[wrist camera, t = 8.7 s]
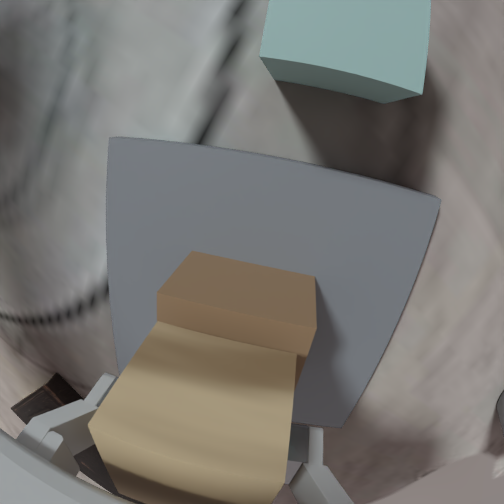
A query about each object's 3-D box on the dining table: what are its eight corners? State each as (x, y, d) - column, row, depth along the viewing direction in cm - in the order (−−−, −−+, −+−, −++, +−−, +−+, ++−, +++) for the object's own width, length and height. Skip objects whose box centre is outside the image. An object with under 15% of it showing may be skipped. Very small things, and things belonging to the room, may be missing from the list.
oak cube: (157, 320, 11) (87, 424, 6) (296, 353, 10) (284, 483, 6) (161, 405, 13) (118, 492, 8) (269, 432, 12) (251, 530, 8)
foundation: (117, 136, 15) (52, 147, 10) (435, 196, 13) (485, 228, 9) (124, 368, 21) (92, 416, 16) (341, 419, 20) (342, 478, 15)
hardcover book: (142, 497, 34) (137, 508, 32) (19, 397, 29) (10, 408, 27) (219, 495, 29) (215, 510, 27) (60, 368, 24) (47, 383, 22)
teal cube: (290, -12, 11) (282, -66, 6) (395, 11, 10) (431, -31, 6) (274, 80, 13) (259, 56, 8) (383, 104, 12) (422, 94, 8)
